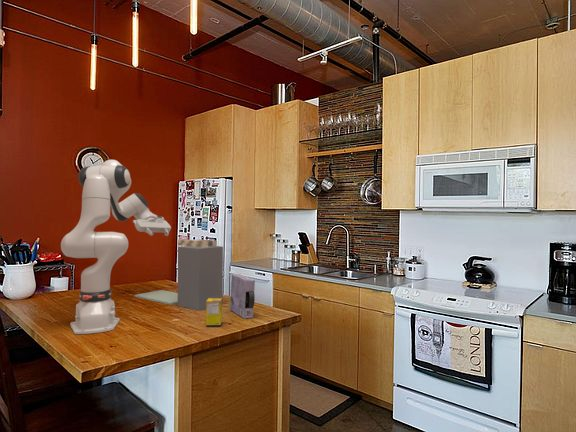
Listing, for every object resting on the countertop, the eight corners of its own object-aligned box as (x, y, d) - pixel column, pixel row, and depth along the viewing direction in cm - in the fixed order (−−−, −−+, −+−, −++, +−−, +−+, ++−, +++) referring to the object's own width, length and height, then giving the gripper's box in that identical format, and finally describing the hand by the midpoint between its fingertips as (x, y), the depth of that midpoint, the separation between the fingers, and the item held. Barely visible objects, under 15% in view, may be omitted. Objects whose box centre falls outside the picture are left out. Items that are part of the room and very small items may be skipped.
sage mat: (134, 296, 218) (134, 294, 218) (161, 291, 233) (161, 289, 233) (170, 305, 200) (170, 303, 200) (197, 298, 214) (197, 297, 214)
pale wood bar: (196, 245, 207) (196, 239, 207) (200, 245, 209) (200, 239, 209) (212, 246, 200) (212, 240, 200) (216, 246, 202) (216, 240, 202)
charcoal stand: (177, 305, 198) (177, 246, 198) (201, 300, 211) (201, 244, 211) (198, 310, 189) (199, 248, 189) (222, 304, 202) (222, 246, 202)
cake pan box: (255, 318, 176) (255, 279, 176) (245, 320, 173) (245, 280, 173) (239, 309, 192) (239, 273, 192) (229, 310, 190) (229, 274, 190)
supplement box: (222, 322, 168) (222, 297, 168) (220, 327, 162) (220, 300, 162) (208, 322, 168) (208, 297, 168) (206, 327, 162) (206, 300, 162)
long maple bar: (177, 245, 208) (178, 239, 208) (182, 244, 210) (182, 239, 210) (203, 247, 196) (203, 241, 196) (208, 246, 199) (208, 241, 199)
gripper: (133, 214, 210) (145, 229, 203) (165, 217, 227) (177, 230, 220) (129, 224, 212) (140, 239, 205) (161, 226, 229) (172, 239, 221)
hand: (159, 234), depth 212 cm, fingers open, 8 cm apart
